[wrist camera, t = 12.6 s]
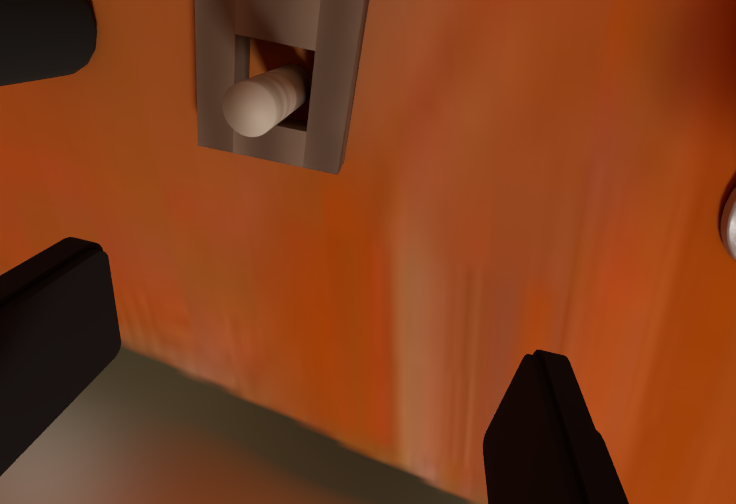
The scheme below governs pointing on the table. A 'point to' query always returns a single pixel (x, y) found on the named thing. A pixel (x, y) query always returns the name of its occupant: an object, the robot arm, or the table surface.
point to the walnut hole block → (294, 28)
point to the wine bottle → (44, 39)
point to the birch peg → (266, 99)
